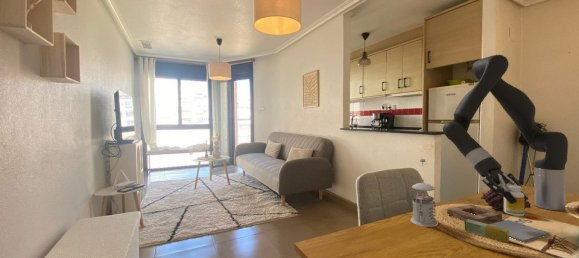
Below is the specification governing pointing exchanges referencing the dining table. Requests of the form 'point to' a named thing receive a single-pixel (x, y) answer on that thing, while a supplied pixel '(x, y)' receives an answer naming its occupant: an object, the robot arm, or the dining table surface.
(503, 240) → the medication box
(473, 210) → the walnut collar
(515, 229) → the slate pad
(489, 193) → the pine cone
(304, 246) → the dining table surface
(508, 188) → the supplement bottle
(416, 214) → the french press
